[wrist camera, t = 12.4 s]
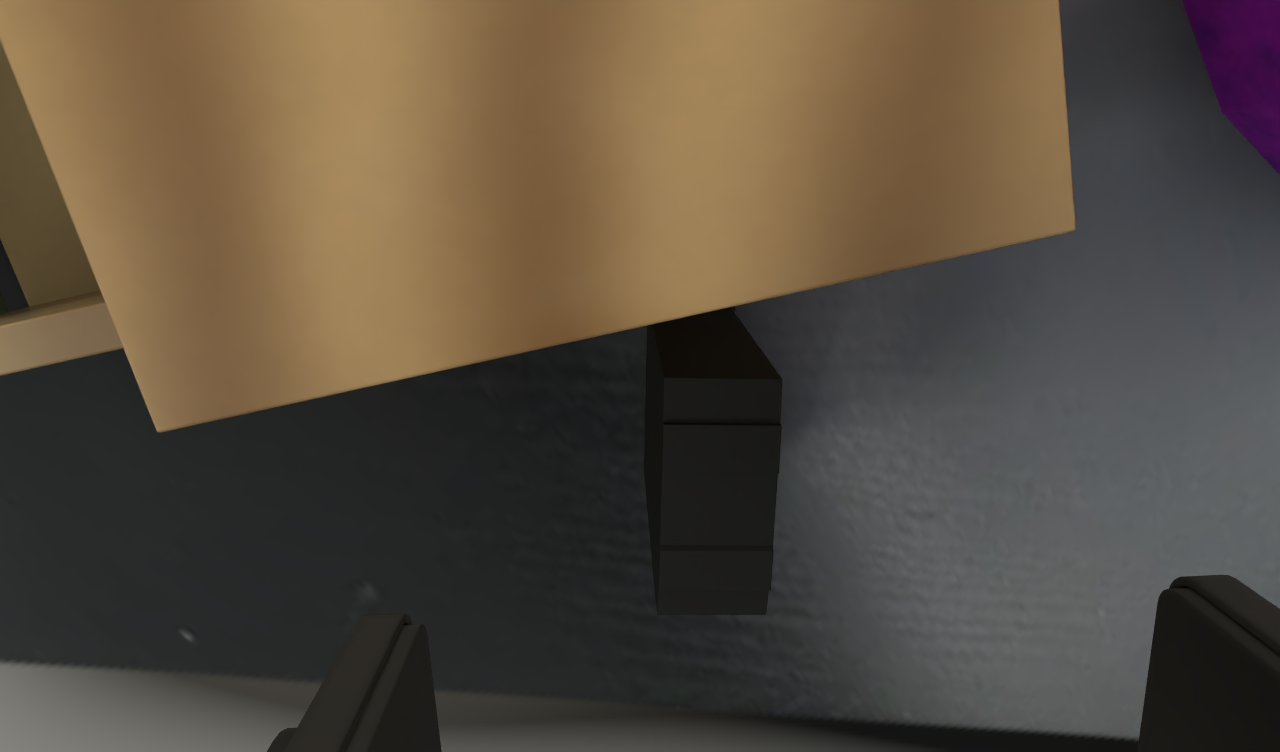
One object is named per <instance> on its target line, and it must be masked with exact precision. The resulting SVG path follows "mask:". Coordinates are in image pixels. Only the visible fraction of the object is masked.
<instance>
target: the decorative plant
mask: <svg viewBox="0 0 1280 752" xmlns="http://www.w3.org/2000/svg"><path fill="white" fill-rule="evenodd" d="M1182 2H1183V5H1184V7H1185V10H1186V13H1187V16H1188V19H1189V21H1190V24H1191V27H1192V30H1193V33H1194V35H1195V38H1196V41H1197V44H1198V47H1199V49H1200V52H1201V55H1202V58H1203V61H1204V63H1205V66H1206V69H1207V72H1208V75H1209V77H1210V80H1211V83H1212V86H1213V89H1214V91H1215V94H1216V97H1217V100H1218V103H1219V105H1220V108H1221V111H1222V113H1223V114H1224V115H1225V116H1226V117H1227V118H1228V119H1229V120H1230V121H1231V122H1232V124H1233V125H1234V126H1235V127H1236V128H1237V129H1238V130H1239V131H1240V132H1241V133H1242V134H1243V136H1244V137H1245V138H1246V139H1247V140H1248V141H1249V142H1250V143H1251V144H1252V145H1253V146H1254V148H1255V149H1256V150H1257V151H1258V152H1259V153H1260V154H1261V155H1262V156H1263V157H1264V159H1265V160H1266V161H1267V162H1268V163H1269V164H1270V165H1271V166H1272V167H1273V168H1274V169H1275V171H1276V172H1277V173H1278V174H1279V175H1280V0H1182Z"/></svg>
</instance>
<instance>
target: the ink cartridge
mask: <svg viewBox="0 0 1280 752" xmlns="http://www.w3.org/2000/svg"><path fill="white" fill-rule="evenodd" d="M781 396H782V378H781V377H780V375H779V374H778V373H777V371H776V370H775V368H774V367H773V366H772V364H771V363H770V362H769V360H768V359H767V357H766V356H765V355H764V353H763V352H762V350H761V349H760V348H759V346H758V345H757V344H756V342H755V341H754V339H753V338H752V337H751V335H750V334H749V332H748V331H747V330H746V328H745V327H744V326H743V324H742V323H741V321H740V320H739V319H738V317H737V316H736V314H735V307H734V306H733V307H729V308H724V309H719V310H715V311H710V312H706V313H701V314H697V315H692V316H688V317H683V318H679V319H674V320H670V321H665V322H660V323H656V324H651V325H647V358H646V405H645V453H644V474H645V486H646V497H647V508H648V520H649V531H650V542H651V553H652V565H653V576H654V587H655V598H656V604H657V614H658V615H766V611H767V602H768V592H769V590H771V577H772V564H773V537H774V522H775V507H776V492H777V477H778V473H779V462H780V444H781V424H780V417H781Z"/></svg>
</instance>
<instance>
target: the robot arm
mask: <svg viewBox="0 0 1280 752" xmlns="http://www.w3.org/2000/svg"><path fill="white" fill-rule="evenodd" d="M267 752H441V744H440V736H439V728H438V720H437V711H436V704H435V695H434V687H433V678H432V670H431V662H430V654H429V645H428V637H427V632H426V628H425V626H424V625H412V622H411V619H410V616H409V615H408V614H388V615H367V616H361V617H360V619H359V620H358V621H357V623H356V625H355V627H354V628H353V630H352V632H351V634H350V635H349V637H348V639H347V641H346V642H345V644H344V646H343V648H342V650H341V651H340V653H339V655H338V657H337V658H336V660H335V662H334V664H333V665H332V667H331V669H330V671H329V673H328V674H327V676H326V678H325V680H324V681H323V683H322V685H321V687H320V688H319V690H318V692H317V694H316V696H315V697H314V699H313V701H312V703H311V705H310V706H309V708H308V710H307V711H306V713H305V715H304V717H303V719H302V721H301V722H300V724H299V726H298V727H297V728H287V729H285V730H283V731H281V732H280V733H279V734H278V736H277V737H276V738H275V739H274V741H273V742H272V744H271V746H270V747H269V749H268V751H267ZM1137 752H1280V609H1279V608H1278V607H1276V606H1275V605H1273V604H1272V603H1270V602H1269V601H1267V600H1266V599H1264V598H1263V597H1262V596H1260V595H1259V594H1257V593H1256V592H1254V591H1253V590H1251V589H1250V588H1249V587H1247V586H1246V585H1244V584H1243V583H1241V582H1240V581H1238V580H1237V579H1235V578H1233V577H1231V576H1229V575H1209V576H1188V577H1179V578H1177V579H1175V580H1174V581H1173V582H1172V584H1171V585H1170V588H1169V589H1166V590H1164V591H1162V593H1161V594H1160V596H1159V600H1158V605H1157V612H1156V619H1155V627H1154V634H1153V641H1152V649H1151V656H1150V663H1149V671H1148V678H1147V685H1146V693H1145V700H1144V707H1143V715H1142V722H1141V729H1140V737H1139V745H1138V751H1137Z"/></svg>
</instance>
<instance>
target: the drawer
mask: <svg viewBox="0 0 1280 752" xmlns="http://www.w3.org/2000/svg"><path fill="white" fill-rule="evenodd" d="M0 239H1V242H2V244H3V246H4V249H5V251H6V253H7V256H8V258H9V260H10V263H11V265H12V267H13V270H14V272H15V274H16V277H17V279H18V281H19V284H20V286H21V289H22V291H23V293H24V296H25V298H26V300H27V303H28V305H29V307H25V308H22V309H18V310H14V311H11V312H8V310H7V308H6V305H5V303H4V301H3V298H2V296H1V294H0V377H2V376H5V375H8V374H11V373H15V372H20V371H24V370H29V369H33V368H38V367H42V366H47V365H51V364H56V363H60V362H65V361H69V360H74V359H78V358H83V357H87V356H91V355H96V354H100V353H105V352H109V351H114V350H118V349H123V346H122V343H121V341H120V338H119V336H118V333H117V331H116V328H115V326H114V323H113V321H112V318H111V316H110V313H109V311H108V308H107V306H106V303H105V301H104V298H103V296H102V294H101V291H100V289H99V286H98V284H97V281H96V279H95V276H94V274H93V271H92V269H91V266H90V264H89V261H88V259H87V256H86V254H85V251H84V249H83V246H82V244H81V241H80V239H79V236H78V234H77V231H76V229H75V226H74V224H73V221H72V219H71V216H70V214H69V211H68V209H67V206H66V204H65V201H64V199H63V196H62V194H61V191H60V189H59V186H58V184H57V181H56V179H55V176H54V174H53V171H52V169H51V166H50V164H49V161H48V159H47V156H46V154H45V151H44V149H43V146H42V144H41V141H40V139H39V136H38V134H37V131H36V129H35V126H34V124H33V121H32V119H31V116H30V114H29V111H28V109H27V106H26V104H25V101H24V99H23V96H22V94H21V91H20V89H19V86H18V84H17V81H16V79H15V76H14V74H13V71H12V69H11V66H10V64H9V61H8V59H7V56H6V54H5V51H4V49H3V46H2V44H1V41H0Z"/></svg>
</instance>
